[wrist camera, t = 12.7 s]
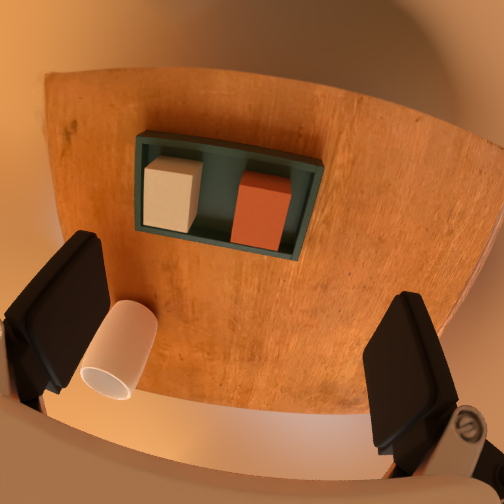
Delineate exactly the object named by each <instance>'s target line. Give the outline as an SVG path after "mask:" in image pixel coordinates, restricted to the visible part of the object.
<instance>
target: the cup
mask: <svg viewBox="0 0 504 504" xmlns="http://www.w3.org/2000/svg"><path fill="white" fill-rule="evenodd" d="M157 328H158V322H157V319H156V317H155V315H154V314H153V313H152V312H151V311H150V310H149V309H148V308H147V307H145V306H144V305H142V304H140V303H138V302H135V301H131V300H121V301H118V302H117V303H116V304H115V305H114V306H113V308H112V309H111V310H110V312H109V313H108V315H107V316H106V318H105V319H104V321H103V323H102V324H101V326H100V328H99V329H98V331H97V333H96V335H95V336H94V338H93V340H92V342H91V344H90V346H89V348H88V350H87V352H86V355H85V357H84V360H83V363H82V365H81V368H80V375H81V377H82V379H83V381H84V382H85V383H86V384H87V385H88V386H90V387H91V388H92V389H94V390H95V391H97V392H98V393H100V394H102V395H104V396H107V397H109V398H113V399H117V400H126V399H128V398H130V397H131V395H132V393H133V391H134V389H135V387H136V385H137V383H138V381H139V379H140V377H141V374H142V372H143V370H144V367H145V364H146V362H147V359H148V356H149V353H150V350H151V348H152V344H153V341H154V338H155V335H156V332H157Z"/></svg>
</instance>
